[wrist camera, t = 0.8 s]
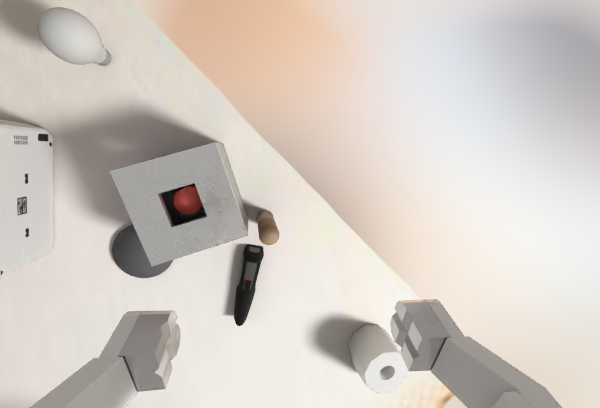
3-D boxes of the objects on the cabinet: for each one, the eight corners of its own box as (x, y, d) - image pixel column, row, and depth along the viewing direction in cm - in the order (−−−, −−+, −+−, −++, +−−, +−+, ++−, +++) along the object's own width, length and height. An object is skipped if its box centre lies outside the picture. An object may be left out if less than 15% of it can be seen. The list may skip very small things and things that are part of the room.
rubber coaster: (183, 265, 50) (182, 267, 49) (128, 283, 48) (126, 285, 48) (162, 215, 47) (161, 216, 47) (103, 233, 46) (102, 234, 45)
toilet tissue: (356, 379, 62) (372, 414, 53) (345, 331, 59) (361, 360, 50) (391, 366, 63) (413, 399, 55) (383, 318, 60) (405, 345, 52)
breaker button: (208, 206, 44) (205, 210, 41) (184, 213, 43) (179, 218, 40) (200, 182, 43) (196, 185, 40) (174, 190, 42) (169, 192, 39)
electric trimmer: (229, 315, 54) (228, 325, 51) (245, 243, 51) (245, 249, 48) (248, 317, 54) (248, 327, 51) (264, 246, 52) (265, 252, 49)
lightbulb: (134, 68, 42) (96, 40, 32) (99, 86, 42) (48, 64, 31) (110, 29, 41) (61, -14, 30) (73, 48, 40) (10, 10, 30)
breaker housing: (248, 218, 50) (247, 235, 40) (173, 241, 48) (151, 266, 38) (223, 144, 47) (215, 141, 36) (142, 166, 45) (109, 171, 35)
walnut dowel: (274, 222, 51) (281, 241, 41) (259, 227, 51) (262, 247, 40) (270, 208, 51) (275, 223, 40) (255, 213, 50) (256, 229, 40)
